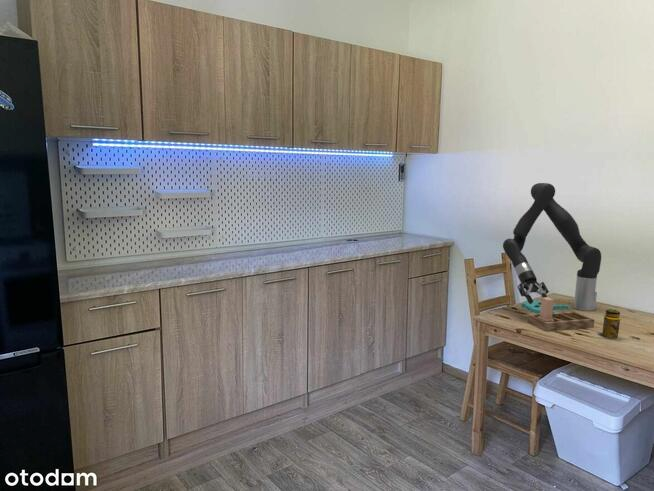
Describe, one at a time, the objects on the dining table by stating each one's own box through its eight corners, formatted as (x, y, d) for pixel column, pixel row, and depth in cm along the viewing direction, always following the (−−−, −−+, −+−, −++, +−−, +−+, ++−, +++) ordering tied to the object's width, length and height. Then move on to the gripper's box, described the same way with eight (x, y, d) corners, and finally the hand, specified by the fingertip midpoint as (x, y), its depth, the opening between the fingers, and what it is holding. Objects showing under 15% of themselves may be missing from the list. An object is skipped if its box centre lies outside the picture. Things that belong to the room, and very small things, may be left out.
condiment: (619, 340, 206) (622, 314, 204) (596, 337, 210) (599, 311, 208) (618, 335, 212) (621, 309, 210) (596, 332, 216) (599, 306, 214)
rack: (572, 318, 235) (573, 311, 235) (593, 327, 223) (594, 319, 222) (527, 322, 229) (528, 314, 228) (546, 331, 217) (546, 323, 216)
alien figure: (568, 309, 253) (529, 302, 265) (568, 305, 252) (529, 298, 265) (558, 318, 238) (517, 310, 250) (558, 314, 237) (517, 306, 250)
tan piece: (536, 321, 226) (539, 297, 224) (545, 321, 227) (547, 296, 225) (545, 325, 220) (547, 300, 218) (553, 325, 221) (556, 300, 219)
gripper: (516, 270, 232) (530, 299, 223) (541, 269, 236) (556, 297, 227) (509, 278, 238) (522, 307, 229) (533, 277, 242) (547, 305, 233)
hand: (539, 302), depth 228 cm, fingers open, 8 cm apart
